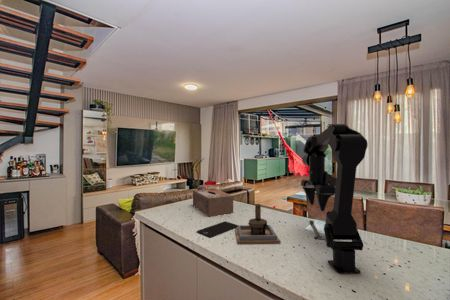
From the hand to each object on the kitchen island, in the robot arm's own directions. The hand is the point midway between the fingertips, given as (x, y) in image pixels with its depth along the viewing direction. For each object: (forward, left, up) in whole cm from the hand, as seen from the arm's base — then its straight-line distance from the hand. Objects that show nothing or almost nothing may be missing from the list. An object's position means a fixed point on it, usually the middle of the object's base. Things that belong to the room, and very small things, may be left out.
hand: (316, 207), depth 87 cm
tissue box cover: (+43, +43, -12) cm, 62 cm away
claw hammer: (+8, -4, -13) cm, 16 cm away
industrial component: (+2, +24, -11) cm, 26 cm away
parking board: (+2, +24, -12) cm, 27 cm away
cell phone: (+11, +39, -13) cm, 42 cm away
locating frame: (+2, +24, -11) cm, 26 cm away
